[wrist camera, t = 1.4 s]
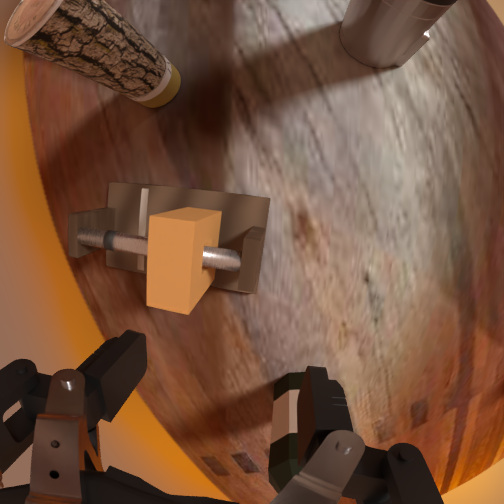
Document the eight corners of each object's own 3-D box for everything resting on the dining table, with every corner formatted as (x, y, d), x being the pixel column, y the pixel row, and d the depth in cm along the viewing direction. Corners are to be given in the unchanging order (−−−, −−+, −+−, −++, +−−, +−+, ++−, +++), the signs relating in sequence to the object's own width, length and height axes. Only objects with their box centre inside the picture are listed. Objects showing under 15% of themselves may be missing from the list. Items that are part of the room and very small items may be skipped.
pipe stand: (270, 198, 34) (265, 202, 25) (257, 290, 37) (248, 325, 27) (114, 182, 36) (69, 183, 26) (111, 263, 39) (70, 283, 29)
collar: (221, 211, 31) (195, 221, 22) (214, 279, 33) (188, 314, 24) (187, 207, 32) (149, 215, 22) (182, 273, 34) (146, 305, 24)
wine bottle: (284, 364, 39) (275, 562, 10) (334, 377, 39) (366, 559, 10) (265, 401, 41) (243, 572, 12) (312, 412, 41) (319, 575, 12)
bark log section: (163, 116, 33) (22, 51, 9) (130, 98, 33) (-5, 40, 9) (192, 76, 32) (85, -32, 8) (156, 59, 32) (45, -29, 7)
